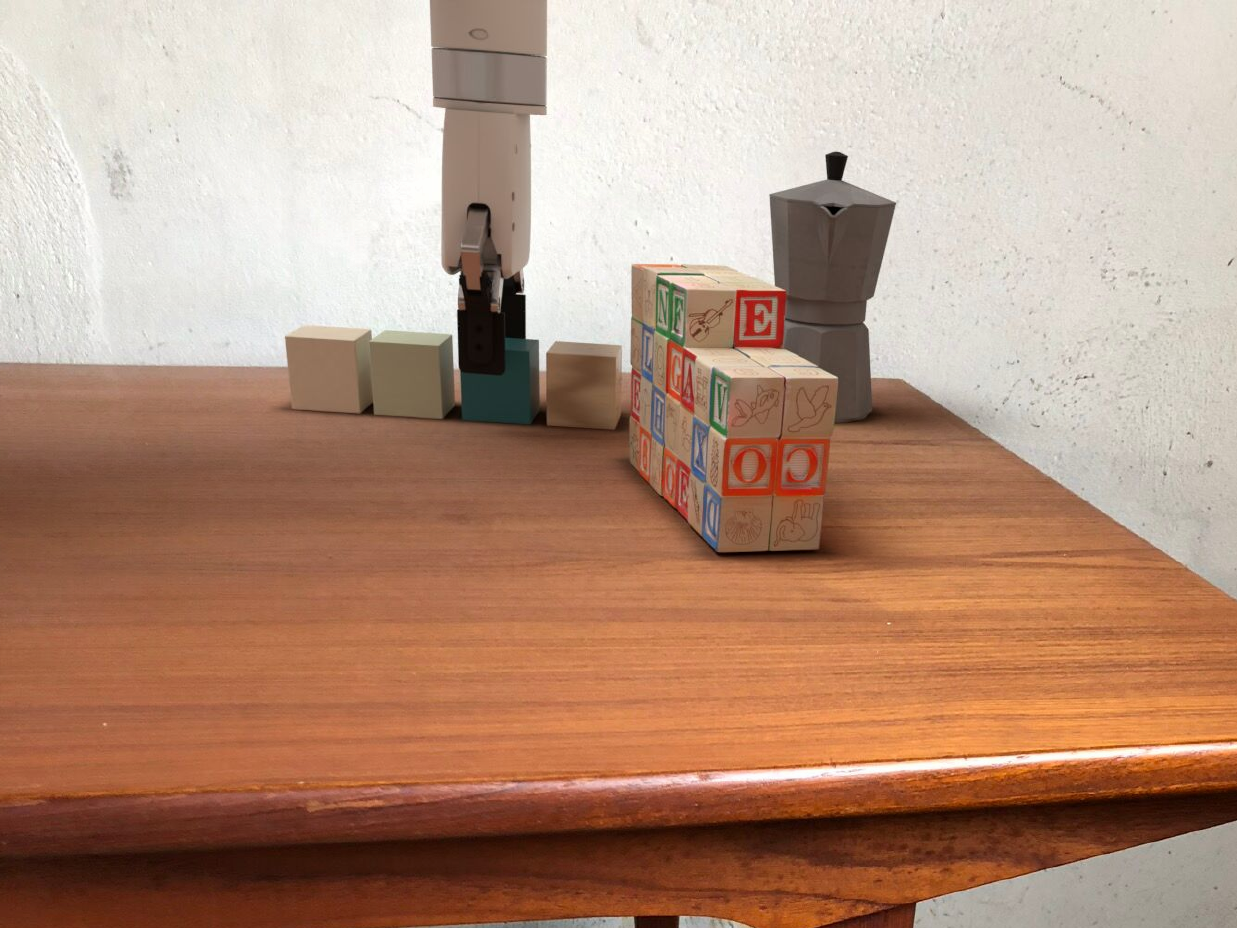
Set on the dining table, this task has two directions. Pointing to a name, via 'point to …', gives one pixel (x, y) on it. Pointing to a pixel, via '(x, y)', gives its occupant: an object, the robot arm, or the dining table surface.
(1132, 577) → the dining table surface
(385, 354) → the block
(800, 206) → the coffeepot
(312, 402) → the block
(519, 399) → the teal block
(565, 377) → the block
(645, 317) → the stack of blocks
